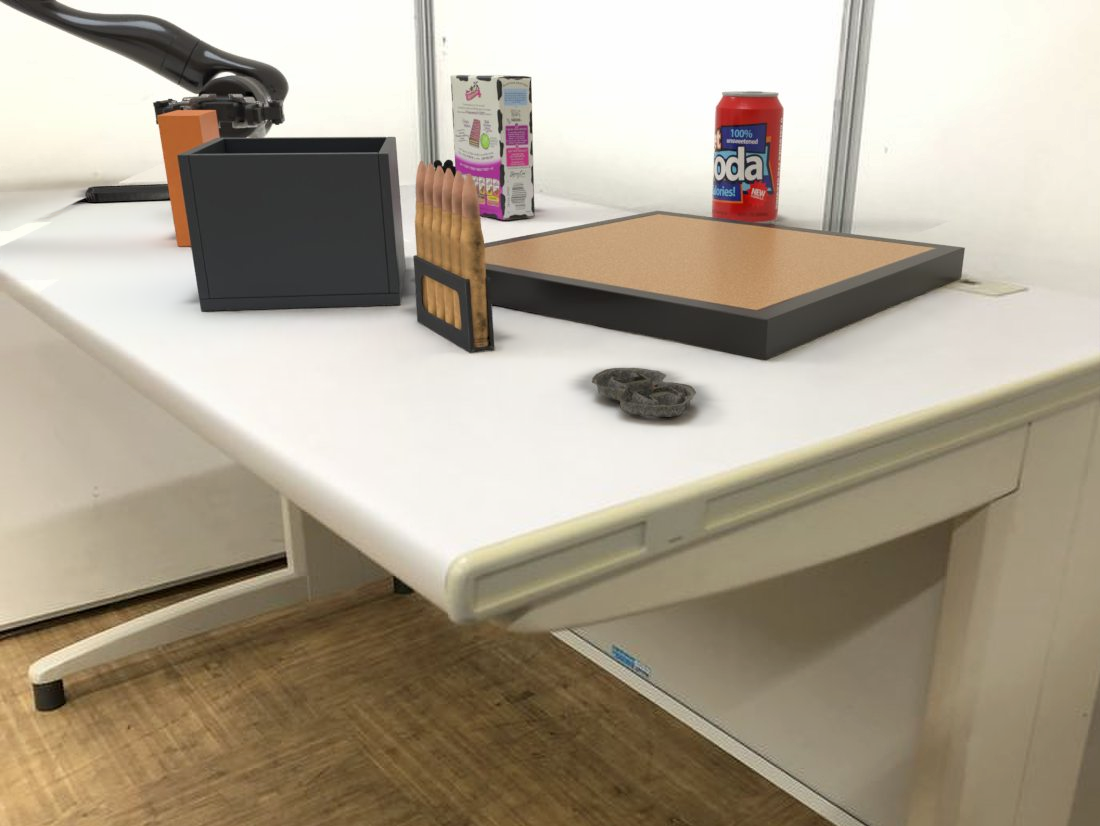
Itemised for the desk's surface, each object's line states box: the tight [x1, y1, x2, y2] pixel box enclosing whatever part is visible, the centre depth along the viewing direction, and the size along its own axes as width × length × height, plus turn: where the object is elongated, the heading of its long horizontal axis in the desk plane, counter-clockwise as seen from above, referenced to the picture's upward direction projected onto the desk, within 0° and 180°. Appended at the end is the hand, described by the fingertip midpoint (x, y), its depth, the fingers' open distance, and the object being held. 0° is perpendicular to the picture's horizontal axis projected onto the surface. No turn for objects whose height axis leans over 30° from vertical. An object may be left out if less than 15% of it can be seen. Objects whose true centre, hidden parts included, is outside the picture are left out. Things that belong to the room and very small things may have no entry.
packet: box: [157, 110, 220, 247], centre depth 113 cm, size 4×9×13 cm, turn 10°
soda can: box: [711, 90, 785, 224], centre depth 124 cm, size 8×8×15 cm
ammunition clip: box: [412, 160, 495, 354], centre depth 76 cm, size 11×2×12 cm, turn 31°
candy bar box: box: [449, 74, 536, 221], centre depth 130 cm, size 11×5×16 cm, turn 40°
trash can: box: [177, 136, 406, 312], centre depth 90 cm, size 16×16×12 cm
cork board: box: [484, 210, 966, 361], centre depth 95 cm, size 36×3×35 cm
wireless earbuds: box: [433, 159, 456, 177], centre depth 146 cm, size 7×2×5 cm, turn 120°
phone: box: [84, 183, 170, 203], centre depth 144 cm, size 8×1×15 cm
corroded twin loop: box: [591, 367, 697, 418], centre depth 64 cm, size 5×8×1 cm, turn 30°
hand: (210, 116), depth 121 cm, fingers open, 8 cm apart
